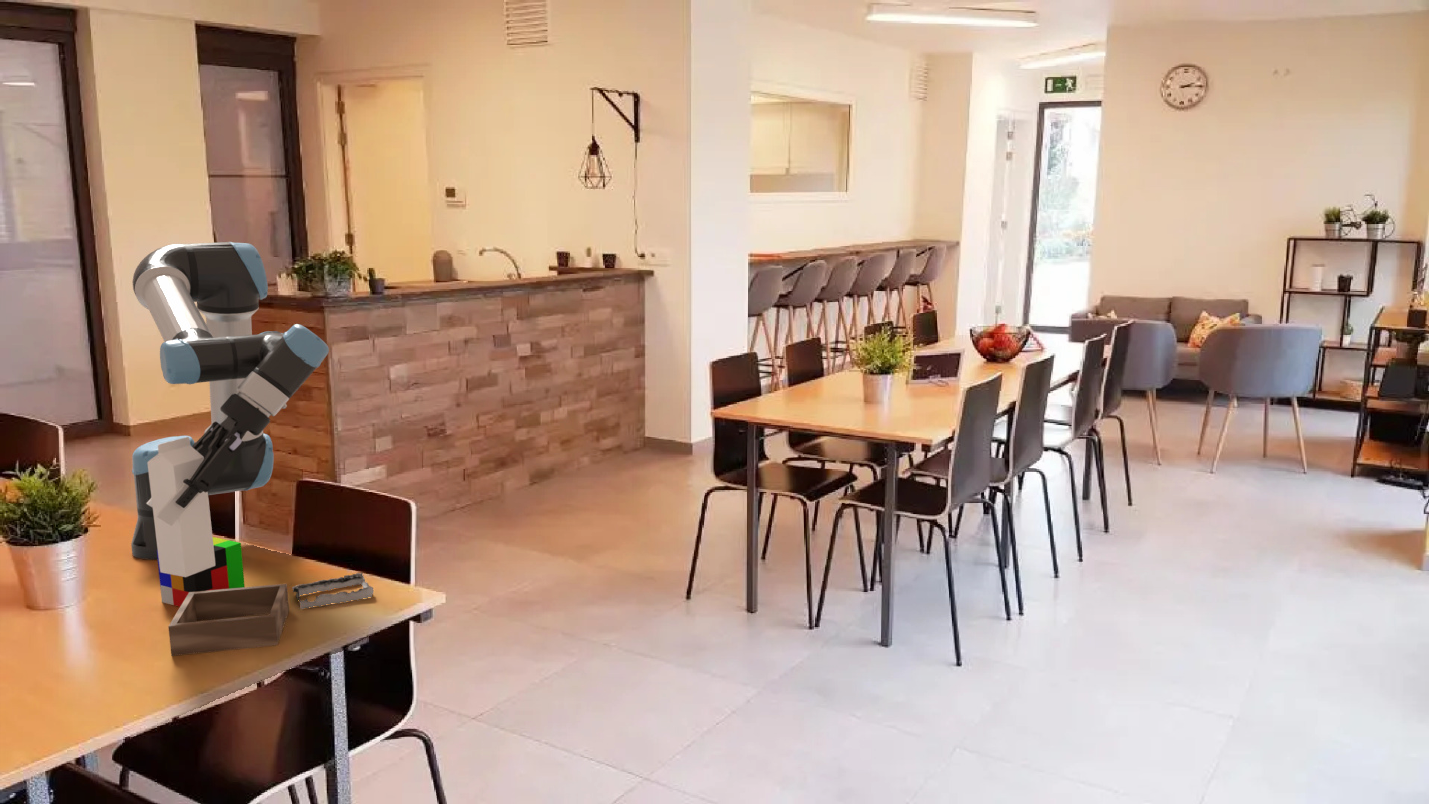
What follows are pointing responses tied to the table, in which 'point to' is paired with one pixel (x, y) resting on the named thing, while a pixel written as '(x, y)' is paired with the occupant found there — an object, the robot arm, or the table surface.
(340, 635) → the table surface
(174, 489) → the milk
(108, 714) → the table surface
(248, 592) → the walnut box
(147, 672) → the table surface
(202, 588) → the puzzle toy
